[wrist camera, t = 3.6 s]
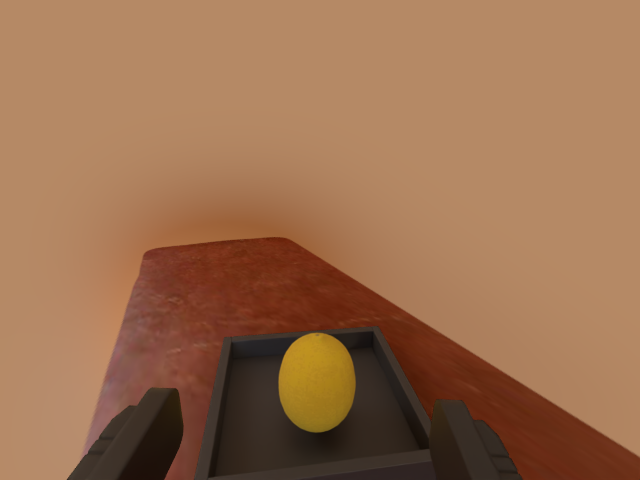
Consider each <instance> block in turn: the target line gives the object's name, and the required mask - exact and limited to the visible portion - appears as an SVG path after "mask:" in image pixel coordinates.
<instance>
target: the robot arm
mask: <svg viewBox="0 0 640 480" xmlns="http://www.w3.org/2000/svg"><path fill="white" fill-rule="evenodd" d="M182 436H183V419H182V412H181V405H180V398H179V392H178V390H177V389H176V388H150V389H149V390H148V391H147V392H146V394H145V395H144V397H143V398H142V399H141V401H140V402H139V404H138V405H137V406H130V405H129V406H128V407H127V408H126V409H124V410H123V411H122V412H121V413H119V414H118V415H117V416H116V417H114V418H113V419H112V420H111V421H110V423H109V424H108V425H107V427H106V428H105V429H104V431H103V432H102V433H101V435H100V436H99V439H98V440H96V441H95V443H94V444H93V445H92V447H91V448H90V449H89V451H88V454H87V455H85V456H84V457H83V459H82V460H81V461H80V463H79V464H78V465H77V467H76V468H75V469H74V471H73V472H72V473H71V475H70V476H69V477H68V479H67V480H164V479H165V477H166V475H167V473H168V470H169V468H170V466H171V464H172V462H173V460H174V458H175V456H176V454H177V451H178V449H179V447H180V444H181V441H182ZM429 449H430V456H431V460H432V463H433V466H434V470H435V473H436V476H437V479H438V480H523V479H522V477H521V476H520V474H518V472H517V468H516V467H515V465H514V463H513V461H512V459H511V458H509V454H508V452H507V450H506V449H505V447H504V445H503V443H502V441H501V439H500V438H499V436H498V435H497V434H496V433H495V432H494V431H493V430H492V429H491V428H490V427H489V426H488V425H487V424H486V423H485V422H484V421H483V420H473V419H472V417H471V415H470V413H469V411H468V408H467V406H466V405H465V403H464V402H463V401H462V400H443V399H437V400H436V401H435V404H434V410H433V416H432V422H431V428H430V434H429Z"/></svg>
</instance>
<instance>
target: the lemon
mask: <svg viewBox="0 0 640 480" xmlns="http://www.w3.org/2000/svg"><path fill="white" fill-rule="evenodd" d="M355 387H356V380H355V372H354V366H353V362H352V359H351V356H350V354H349V352H348V351H347V349H346V347H345V346H344V345H343V344H342V343H341V342H340V341H339V340H337V339H336V338H334V337H332V336H330V335H328V334H323V333H311V334H307V335H305V336H302V337H300V338H299V339H297V340H296V341H295V342H294V343H292V345H291V346H290V347H289V349H288V350H287V351H286V353H285V355H284V358H283V361H282V364H281V368H280V372H279V396H280V401H281V403H282V406H283V409H284V411H285V413H286V415H287V416H288V417H289V419H290V420H291V421H292V422H293V423H294V424H295V425H297V426H298V427H299V428H301V429H303V430H306V431H309V432H324V431H328V430H330V429H332V428H334V427H336V426H337V425H338V424H339V423H340V422H341V421H342V420H343V419H344V418H345V417H346V416H347V414H348V412H349V410H350V408H351V406H352V403H353V399H354V394H355Z"/></svg>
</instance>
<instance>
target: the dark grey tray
mask: <svg viewBox="0 0 640 480" xmlns="http://www.w3.org/2000/svg"><path fill="white" fill-rule="evenodd" d="M311 333H323V334H328V335H330V336H332V337H334V338H336V339H337V340H339V341H340V342H341V343H342V344H343V345H344V346H345V347H346V349H347V351H348V352H349V354H350V356H351V359H352V362H353V366H354V372H355V380H356V387H355V394H354V399H353V403H352V406H351V408H350V410H349V412H348V414H347V416H346V417H345V418H344V419H343V420H342V421H341V422H340V423H339V424H338V425H337V426H336V427H334V428H332V429H330V430H328V431H324V432H309V431H306V430H303V429H301V428H299V427H298V426H297V425H295V424H294V423H293V422H292V421H291V420H290V419H289V417H288V416H287V415H286V413H285V411H284V409H283V406H282V403H281V401H280V396H279V372H280V368H281V364H282V361H283V358H284V355H285V353H286V351H287V350H288V349H289V347H290V346H291V345H292V343H294V342H295V341H296V340H297V339H299V338H300V337H302V336H305V335H307V334H311ZM430 428H431V421H430V419H429V417H428V415H427V413H426V411H425V410H424V408H423V406H422V404H421V402H420V401H419V399H418V397H417V395H416V393H415V392H414V390H413V388H412V386H411V384H410V383H409V381H408V379H407V377H406V375H405V374H404V372H403V370H402V368H401V366H400V365H399V363H398V361H397V359H396V357H395V355H394V354H393V352H392V350H391V348H390V346H389V345H388V343H387V341H386V339H385V337H384V336H383V334H382V332H381V330H380V328H379V327H378V326H373V327H359V328H345V329H331V330H317V331H304V332H290V333H276V334H262V335H248V336H235V337H224V340H223V345H222V350H221V355H220V359H219V364H218V369H217V374H216V378H215V383H214V388H213V393H212V397H211V402H210V407H209V411H208V416H207V421H206V426H205V430H204V435H203V440H202V445H201V449H200V454H199V459H198V464H197V468H196V473H195V478H194V480H438V479H437V476H436V473H435V470H434V466H433V463H432V460H431V456H430V449H429V434H430Z"/></svg>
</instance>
